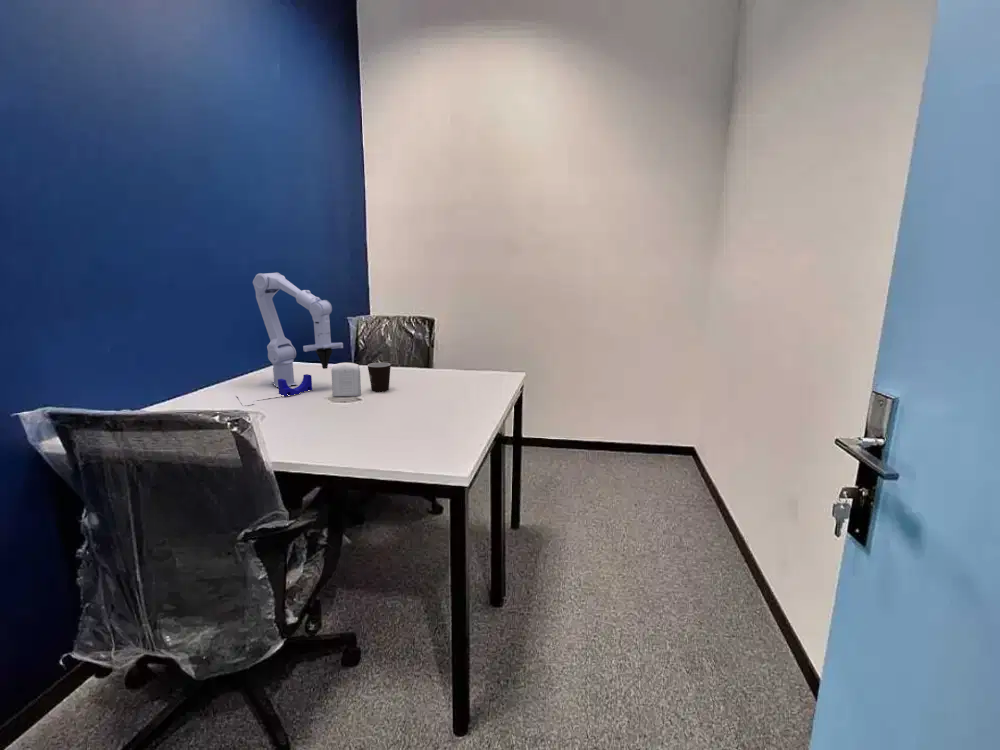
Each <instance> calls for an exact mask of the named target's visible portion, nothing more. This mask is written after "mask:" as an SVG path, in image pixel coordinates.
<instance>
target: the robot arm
mask: <svg viewBox="0 0 1000 750" xmlns="http://www.w3.org/2000/svg"><path fill="white" fill-rule="evenodd" d="M252 285H253V288H254V291H255V299H256V302H257V304H258V309H259V311H260V314H261V317H262V319H263V323H264V326H265V328H266V332H267V334H268V338H269V341H270V342H269V343H268V344H267V346H266V348H267V358H268V361H270V362H271V364H272V371H273V372H272V374H273V381H272V382H271V384H272V383H274V384H275V386H276V387H278V379H284V380H286V383H287V385H288V386H289V387H292V386H291V385H296V386H298V384H297V383H296V381H295V375H294V360H295V358H296V357H297V351H296V348H295V347H294V345H293V344H292V341H291V340H290V339H288V338H287V337H285V334H284V331H283V328H282V324H281V321H280V319H279V315H278V312H277V310H276V306H275V303H274V301H273V298H274V296H275V294H277V293H278V291H280V290H281V291H283V292H285V293H287V294H288V295H290V296H292V297H294V298H295V300H296V303H297V304H299V305H301V306H302V307H304V308H305V309H306V310H307V311H309V313H310V315H311V317H312V321H313V330H314V342H315V343H314V344H308V345H303V346H302V348H303V352H306V353H307V352H310V351H311V352H313V351H315V354H316V355H317V357H318V358H319V362H320V364H321V366H322V369H323V370H326V369H327V370H328V367H329V361H330V358H331V356H332V353H333V350H334V349H344V343H343V342H332V338H331V323H330V321H331V319H330V314H332V311H333V306H332V304H331V302H330V301H329V300H327V299H323V300H322V299H321V298H320V297H319V296H315V295H314V294H312V293H311V291H310V290H309V289H303V290H301V289H300V288H299V287H297V286H296V285H294V283H292V282H291V281H289V280H288V279H286V277H285V275H283V274H281V273H279V272H277V271H276V272H268V273H261V272H259V273H257V274H255V277H254V278H253V280H252ZM332 349H333V350H332ZM275 386H274V387H275ZM276 387H275V388H276Z"/></svg>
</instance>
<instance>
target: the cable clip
mask: <svg viewBox="0 0 1000 750" xmlns="http://www.w3.org/2000/svg"><path fill="white" fill-rule="evenodd" d="M302 377H303V378H302V381H301V383H300V384H299V385H297V386H296V387H294V388H292V387H291V386H288V385H287V383H286V380H284V379H278V388H277V389H278V394H281V395H284V396H288V395H294V394H299V393H300V392H303V393H305V392H304V391H308V390H312V391H313V378H312V374H303V376H302ZM308 392H309V391H308ZM287 394H288V395H287ZM300 394H301V393H300ZM300 394H299V395H300ZM294 396H295V395H294Z"/></svg>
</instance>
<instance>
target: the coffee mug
mask: <svg viewBox="0 0 1000 750" xmlns="http://www.w3.org/2000/svg"><path fill="white" fill-rule="evenodd" d="M391 364H392V363H389V362H373V363H368V364H367V371H368V375H369V376H368V377H369V382H370V388H371V392H372V393H385V392H388V391H389V390H390V382H391V381H390V380H391V379H390V377H391Z"/></svg>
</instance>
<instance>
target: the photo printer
mask: <svg viewBox="0 0 1000 750" xmlns="http://www.w3.org/2000/svg"><path fill="white" fill-rule="evenodd" d="M361 381H362V380H361V368H360V365H359V364H357V363H353V362H339V363H335V364H333V365H332V366H331V384H332V385H331V389H332V396H333V397H357V396H358V397H359V396H360V397H361V396H362V389H361V388H362V387H361Z"/></svg>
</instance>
